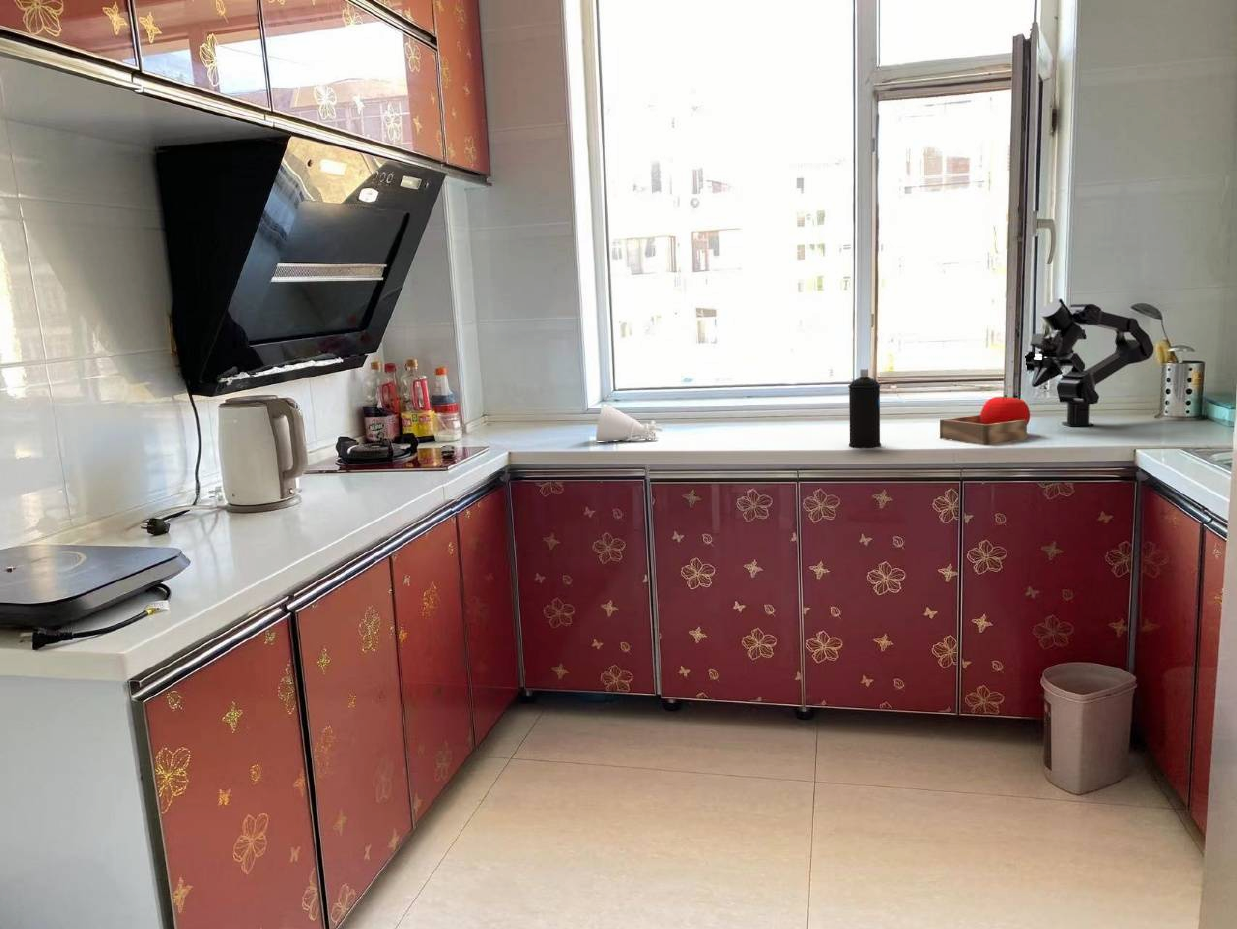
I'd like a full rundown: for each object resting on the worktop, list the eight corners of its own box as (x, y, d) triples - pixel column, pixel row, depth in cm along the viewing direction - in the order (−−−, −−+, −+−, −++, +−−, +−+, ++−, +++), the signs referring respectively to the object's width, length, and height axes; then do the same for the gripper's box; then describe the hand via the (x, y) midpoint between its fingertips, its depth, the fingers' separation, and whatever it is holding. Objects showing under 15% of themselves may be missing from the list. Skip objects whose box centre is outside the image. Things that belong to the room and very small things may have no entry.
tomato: (970, 433, 260) (973, 394, 258) (1006, 431, 264) (1009, 393, 263) (1000, 437, 250) (1003, 396, 248) (1037, 436, 254) (1040, 396, 252)
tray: (979, 432, 264) (979, 414, 263) (1026, 438, 250) (1026, 419, 249) (939, 438, 258) (940, 419, 257) (985, 444, 244) (986, 425, 243)
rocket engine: (665, 407, 279) (605, 395, 281) (658, 436, 272) (596, 424, 274) (662, 432, 289) (604, 421, 290) (655, 462, 281) (595, 450, 283)
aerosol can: (861, 449, 247) (860, 371, 244) (842, 445, 255) (841, 369, 251) (887, 445, 250) (887, 368, 247) (868, 442, 258) (867, 367, 254)
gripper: (1020, 321, 267) (991, 365, 264) (1078, 322, 250) (1047, 368, 247) (1040, 348, 271) (1011, 391, 269) (1098, 349, 255) (1068, 395, 252)
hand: (1033, 386), depth 259 cm, fingers closed
